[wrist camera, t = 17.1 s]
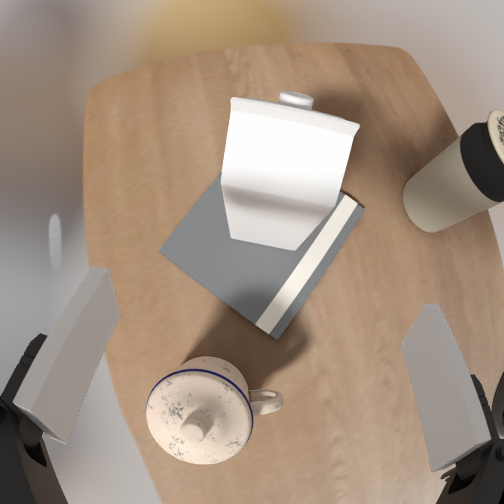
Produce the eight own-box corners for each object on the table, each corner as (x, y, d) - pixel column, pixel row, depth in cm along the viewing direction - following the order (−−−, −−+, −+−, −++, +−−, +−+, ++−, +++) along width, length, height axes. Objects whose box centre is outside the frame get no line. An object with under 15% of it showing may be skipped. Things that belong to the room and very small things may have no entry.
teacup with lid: (176, 430, 29) (148, 479, 18) (163, 356, 31) (123, 379, 19) (281, 421, 30) (298, 471, 18) (272, 345, 31) (287, 366, 20)
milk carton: (295, 251, 33) (357, 182, 14) (230, 238, 33) (214, 152, 14) (304, 191, 34) (360, 82, 15) (243, 179, 34) (244, 57, 15)
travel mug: (394, 214, 35) (487, 151, 17) (408, 166, 36) (486, 92, 18) (441, 243, 34) (541, 202, 16) (452, 194, 35) (537, 140, 18)
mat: (254, 136, 36) (254, 133, 35) (362, 211, 34) (365, 209, 34) (159, 252, 33) (158, 250, 32) (276, 339, 32) (277, 340, 31)
